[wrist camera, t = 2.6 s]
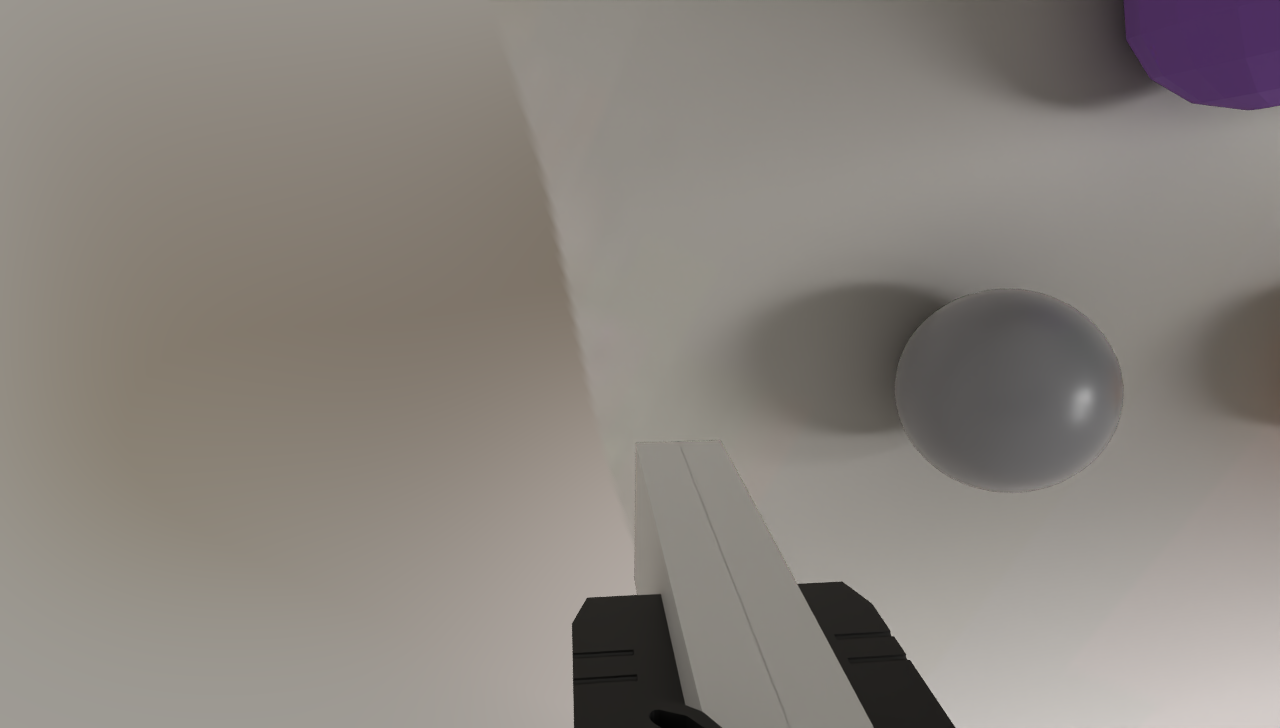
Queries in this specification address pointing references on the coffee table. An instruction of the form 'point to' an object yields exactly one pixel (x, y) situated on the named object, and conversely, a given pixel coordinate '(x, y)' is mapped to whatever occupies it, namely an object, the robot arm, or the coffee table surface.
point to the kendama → (1209, 49)
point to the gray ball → (1009, 390)
